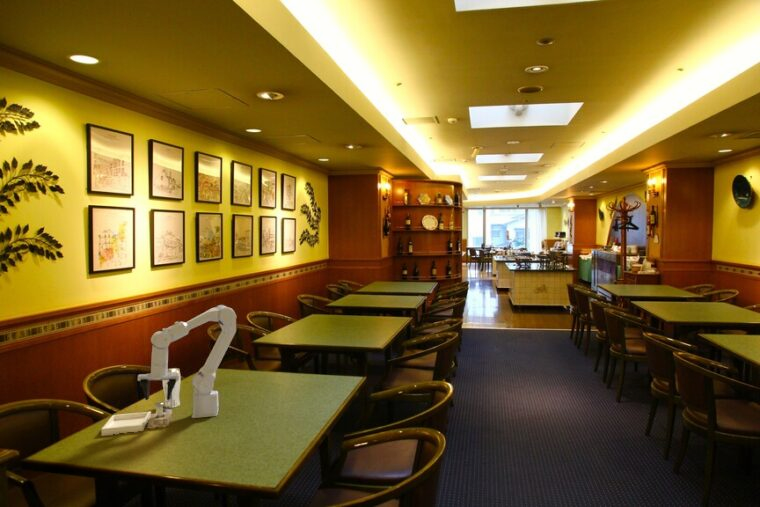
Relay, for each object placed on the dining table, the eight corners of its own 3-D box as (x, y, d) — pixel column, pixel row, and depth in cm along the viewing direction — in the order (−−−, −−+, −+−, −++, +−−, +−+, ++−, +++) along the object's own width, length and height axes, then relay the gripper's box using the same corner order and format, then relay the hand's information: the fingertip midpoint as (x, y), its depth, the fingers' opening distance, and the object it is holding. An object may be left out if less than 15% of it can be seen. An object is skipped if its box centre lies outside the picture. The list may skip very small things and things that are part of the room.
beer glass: (159, 407, 198) (158, 371, 197) (172, 401, 204) (171, 367, 203) (172, 409, 195) (171, 373, 194) (185, 403, 201) (183, 368, 201)
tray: (151, 417, 186) (151, 411, 186) (142, 431, 173) (142, 424, 173) (113, 421, 183) (112, 415, 183) (101, 435, 170) (101, 429, 170)
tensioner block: (174, 412, 191) (174, 405, 191) (168, 426, 177) (167, 418, 177) (156, 414, 189) (155, 407, 189) (147, 428, 176) (147, 420, 175)
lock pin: (165, 421, 182) (164, 401, 181) (163, 425, 179) (162, 404, 178) (156, 422, 181) (155, 402, 181) (154, 426, 178) (153, 405, 178)
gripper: (135, 366, 174) (134, 402, 174) (177, 366, 177) (175, 402, 177) (141, 361, 181) (140, 396, 181) (181, 361, 184) (180, 396, 184)
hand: (158, 399), depth 179 cm, fingers open, 7 cm apart
